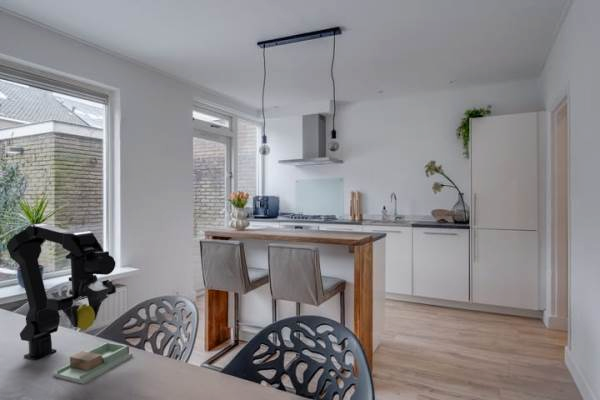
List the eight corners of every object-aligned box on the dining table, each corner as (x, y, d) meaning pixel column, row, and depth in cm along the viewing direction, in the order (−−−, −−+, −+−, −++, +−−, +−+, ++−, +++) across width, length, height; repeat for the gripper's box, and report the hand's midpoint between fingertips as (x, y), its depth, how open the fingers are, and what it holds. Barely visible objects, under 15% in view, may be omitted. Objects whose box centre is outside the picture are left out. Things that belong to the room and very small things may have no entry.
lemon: (85, 334, 105) (84, 307, 105) (69, 333, 106) (68, 306, 106) (99, 327, 110) (98, 302, 110) (84, 326, 112) (83, 301, 112)
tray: (53, 376, 101) (52, 365, 101) (105, 350, 117) (104, 341, 117) (83, 383, 97) (82, 372, 97) (132, 356, 113) (132, 346, 113)
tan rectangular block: (70, 366, 104) (69, 356, 104) (82, 360, 108) (82, 350, 108) (89, 371, 101) (89, 361, 101) (102, 364, 105) (101, 354, 105)
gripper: (70, 282, 96) (73, 339, 97) (127, 268, 114) (129, 316, 114) (43, 279, 101) (46, 334, 101) (102, 266, 118) (104, 312, 118)
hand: (84, 323), depth 108 cm, fingers closed on lemon, 5 cm apart
